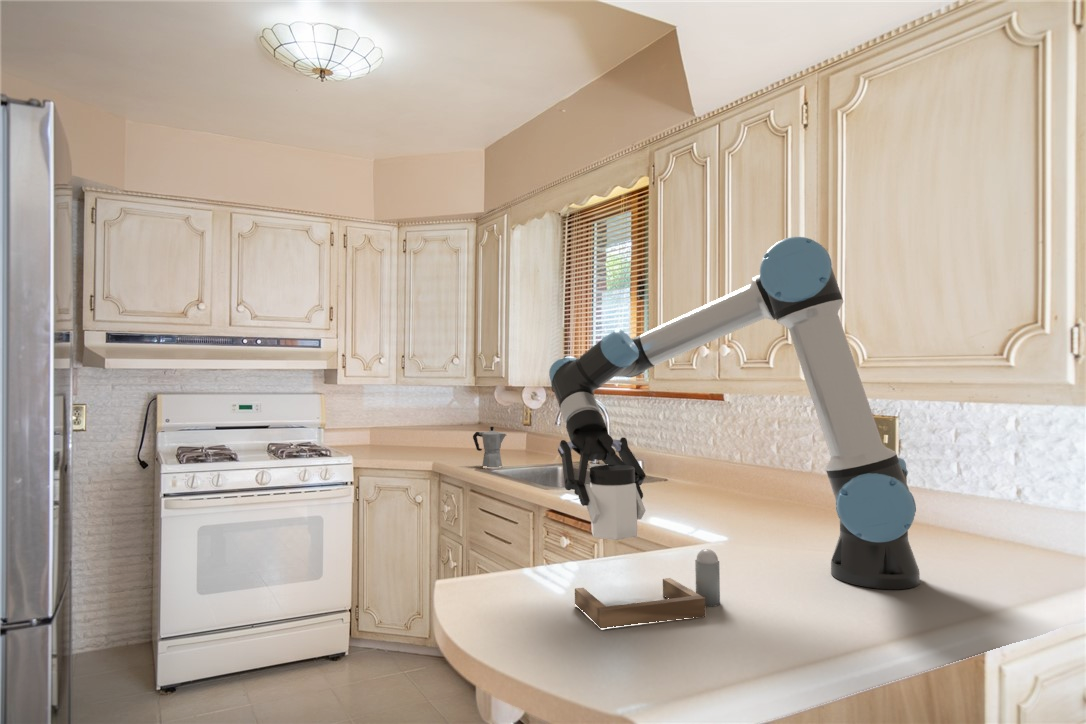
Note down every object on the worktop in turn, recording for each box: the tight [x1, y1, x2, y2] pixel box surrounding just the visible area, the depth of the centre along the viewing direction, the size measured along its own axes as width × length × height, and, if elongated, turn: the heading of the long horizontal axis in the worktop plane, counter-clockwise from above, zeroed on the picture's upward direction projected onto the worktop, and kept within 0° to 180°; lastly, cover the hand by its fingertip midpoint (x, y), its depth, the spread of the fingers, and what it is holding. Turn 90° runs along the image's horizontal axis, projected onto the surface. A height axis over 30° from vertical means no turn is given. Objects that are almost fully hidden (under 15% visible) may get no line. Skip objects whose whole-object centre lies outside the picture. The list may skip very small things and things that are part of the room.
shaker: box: [694, 548, 721, 607], centre depth 114 cm, size 4×4×9 cm
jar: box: [589, 464, 639, 541], centre depth 121 cm, size 9×8×12 cm
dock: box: [574, 577, 706, 628], centre depth 110 cm, size 12×18×3 cm, turn 108°
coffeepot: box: [472, 426, 507, 467], centre depth 292 cm, size 15×9×18 cm, turn 75°
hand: (619, 516), depth 117 cm, fingers closed on jar, 8 cm apart
